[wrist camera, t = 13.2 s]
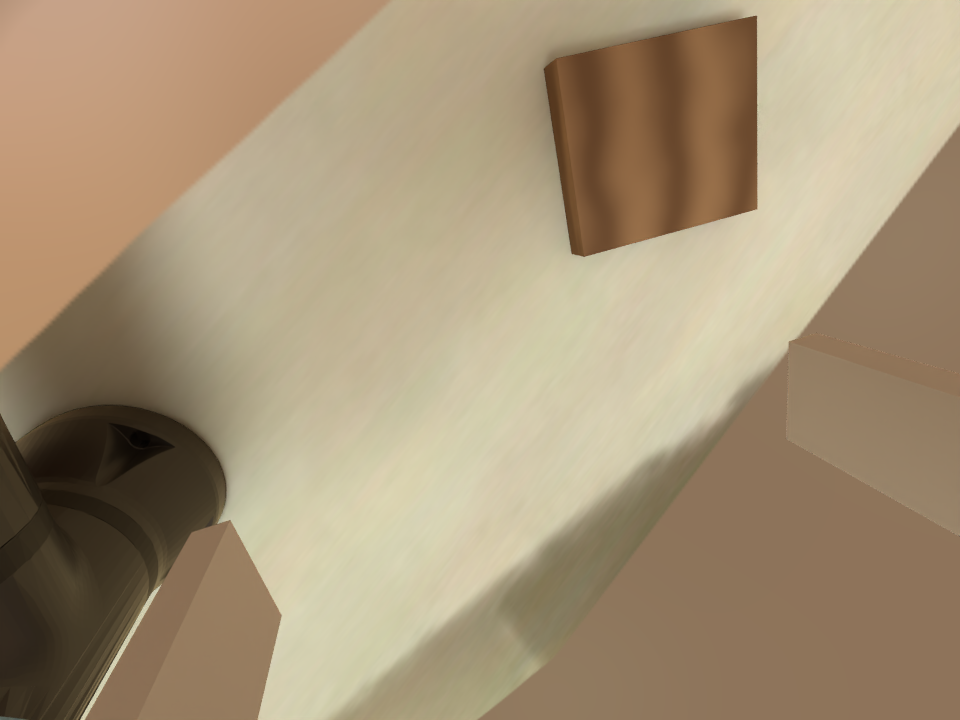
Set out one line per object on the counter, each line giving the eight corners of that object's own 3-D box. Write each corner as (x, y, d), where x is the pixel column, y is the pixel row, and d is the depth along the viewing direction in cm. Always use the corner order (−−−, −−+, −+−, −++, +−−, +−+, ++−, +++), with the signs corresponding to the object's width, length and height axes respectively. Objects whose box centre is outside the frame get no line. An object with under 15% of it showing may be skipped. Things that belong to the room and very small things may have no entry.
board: (571, 253, 39) (584, 256, 37) (543, 68, 34) (556, 58, 32) (735, 209, 41) (757, 209, 39) (732, 27, 36) (756, 15, 34)
